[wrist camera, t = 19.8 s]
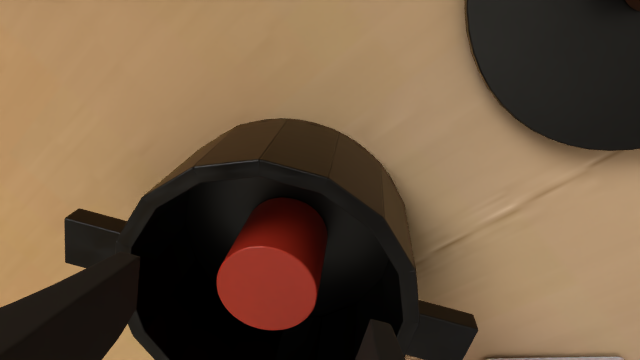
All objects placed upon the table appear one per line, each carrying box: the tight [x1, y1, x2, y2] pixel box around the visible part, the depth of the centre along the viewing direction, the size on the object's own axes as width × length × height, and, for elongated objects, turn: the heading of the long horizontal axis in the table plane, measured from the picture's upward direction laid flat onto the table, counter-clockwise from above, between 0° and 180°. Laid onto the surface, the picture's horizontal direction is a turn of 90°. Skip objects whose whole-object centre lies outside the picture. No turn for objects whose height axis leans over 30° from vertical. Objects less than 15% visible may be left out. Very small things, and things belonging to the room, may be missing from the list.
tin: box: [217, 197, 328, 330], centre depth 21 cm, size 5×5×5 cm
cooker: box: [65, 119, 478, 360], centre depth 20 cm, size 13×18×6 cm
